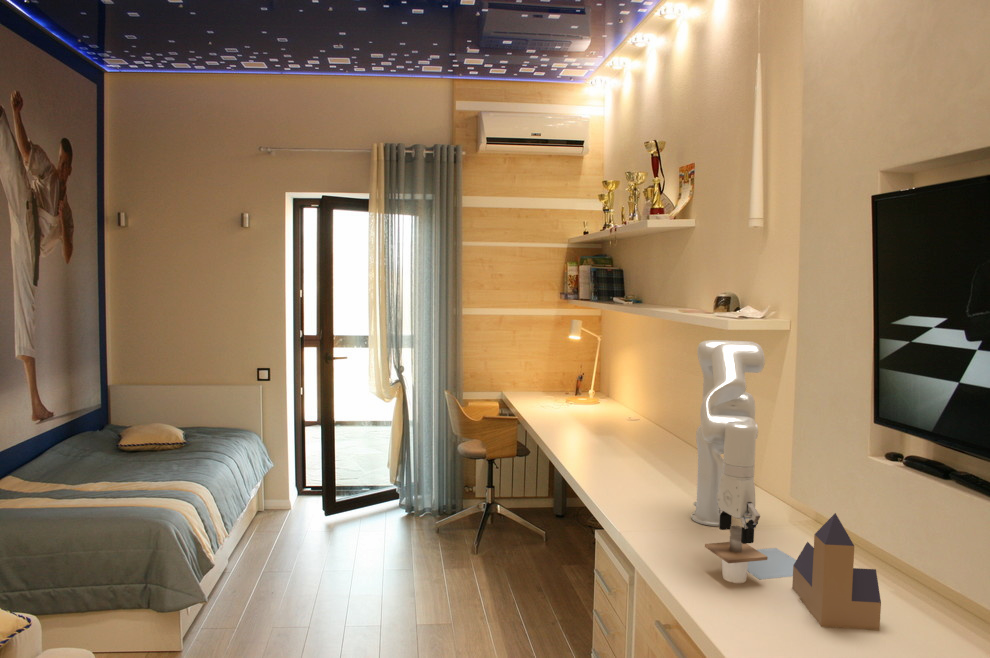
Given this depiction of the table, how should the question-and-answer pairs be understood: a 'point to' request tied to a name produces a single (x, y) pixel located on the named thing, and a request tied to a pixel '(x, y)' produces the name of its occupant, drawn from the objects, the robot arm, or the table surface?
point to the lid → (735, 548)
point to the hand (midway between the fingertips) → (736, 536)
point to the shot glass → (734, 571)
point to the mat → (772, 565)
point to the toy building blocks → (836, 581)
